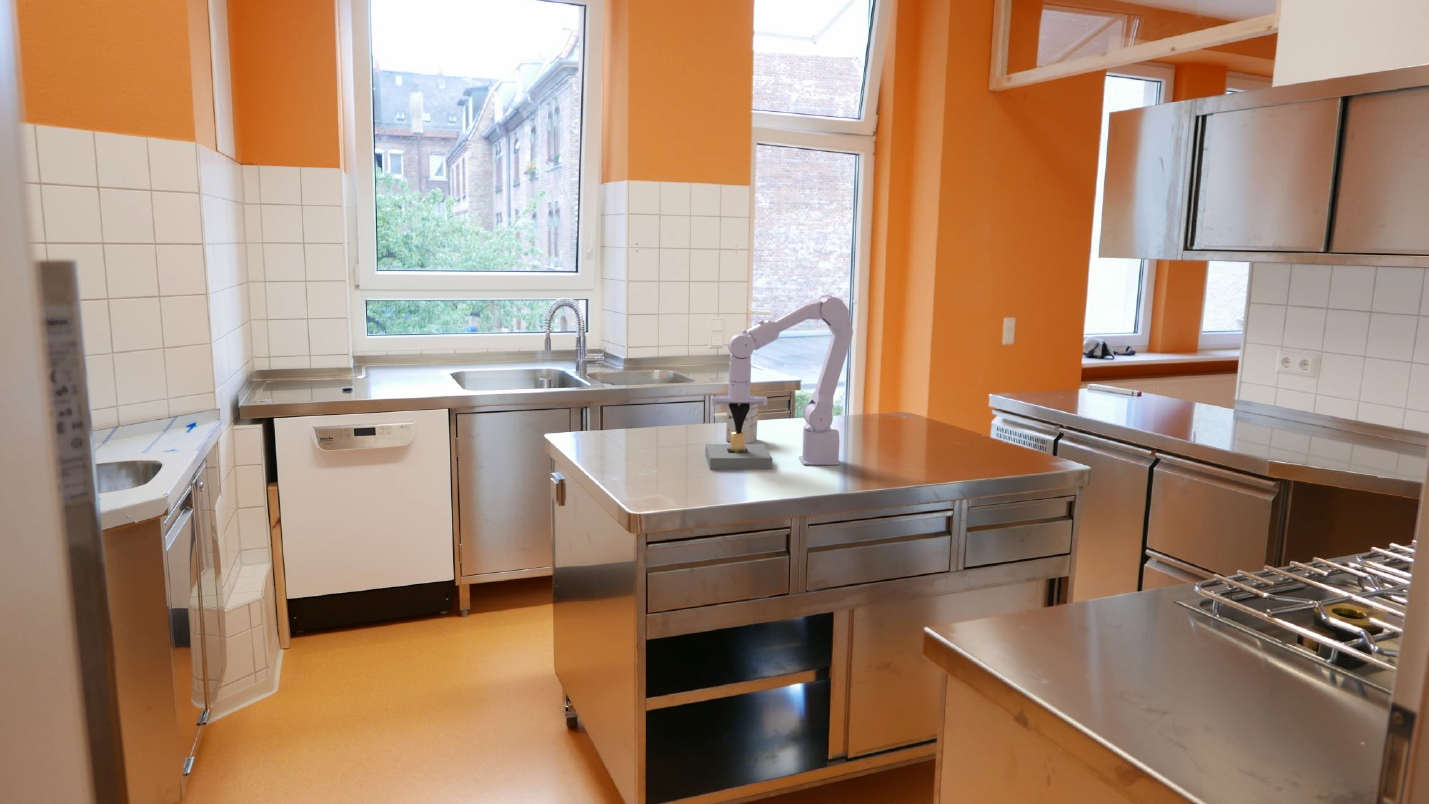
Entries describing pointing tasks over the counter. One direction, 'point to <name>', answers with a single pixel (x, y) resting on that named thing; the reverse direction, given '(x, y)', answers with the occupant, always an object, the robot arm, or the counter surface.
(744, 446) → the brass sleeve
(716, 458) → the jig block
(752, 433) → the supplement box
